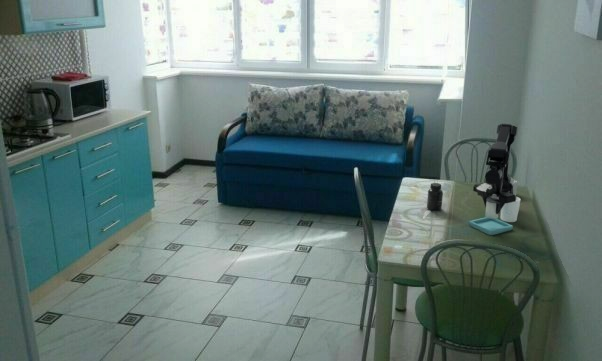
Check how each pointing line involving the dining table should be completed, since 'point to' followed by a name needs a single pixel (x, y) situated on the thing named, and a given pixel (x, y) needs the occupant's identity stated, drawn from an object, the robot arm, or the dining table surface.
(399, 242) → the dining table surface
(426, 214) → the butter knife
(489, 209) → the spice jar
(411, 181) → the dining table surface
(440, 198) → the supplement bottle
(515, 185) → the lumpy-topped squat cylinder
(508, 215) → the white cup
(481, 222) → the tray
